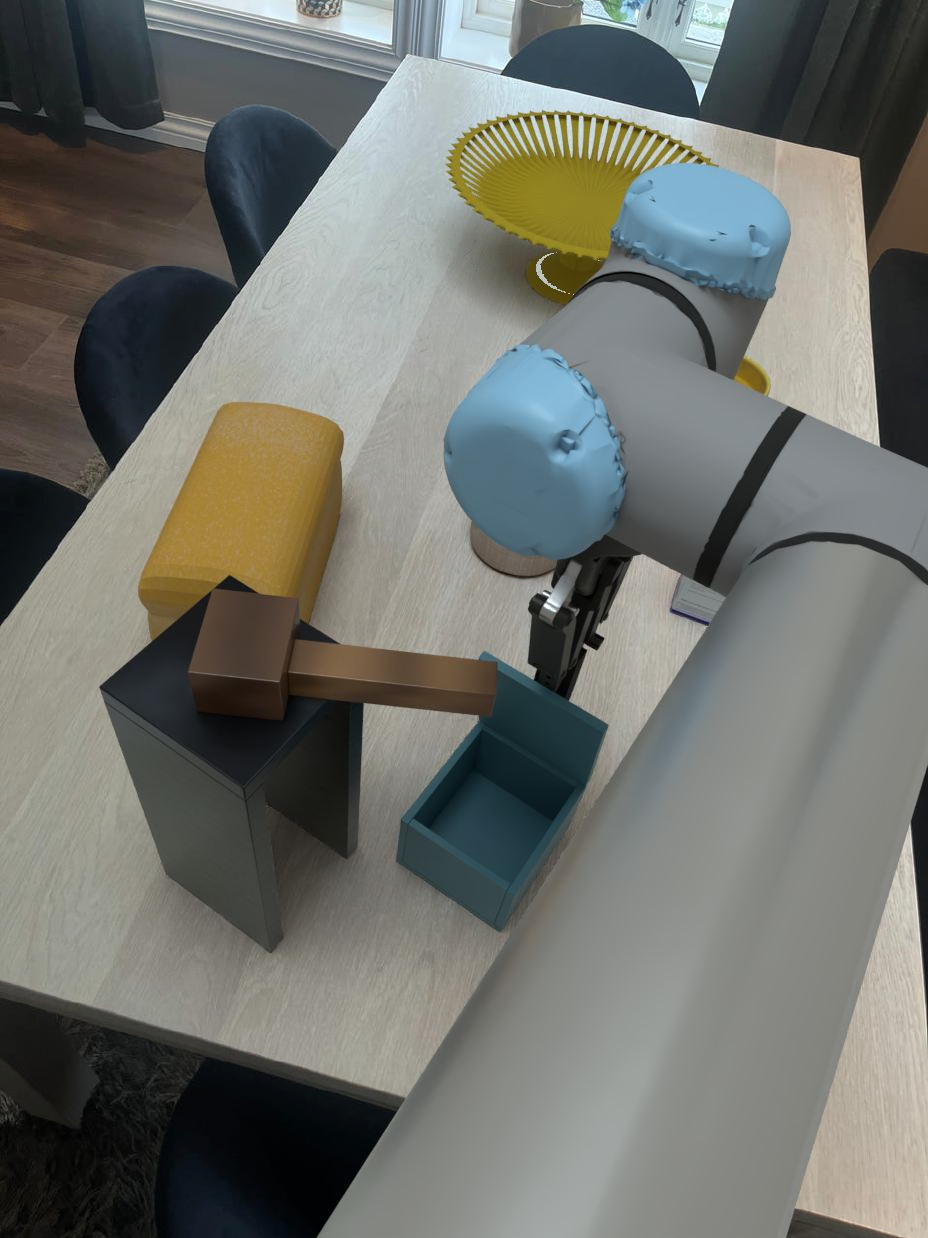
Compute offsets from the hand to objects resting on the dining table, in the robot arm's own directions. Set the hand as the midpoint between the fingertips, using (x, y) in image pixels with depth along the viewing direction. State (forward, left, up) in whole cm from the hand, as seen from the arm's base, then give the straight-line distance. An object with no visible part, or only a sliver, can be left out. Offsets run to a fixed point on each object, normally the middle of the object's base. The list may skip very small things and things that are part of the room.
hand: (549, 698), depth 70 cm
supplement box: (+32, -4, -16) cm, 36 cm away
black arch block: (-17, +14, -16) cm, 28 cm away
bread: (+5, +34, -16) cm, 38 cm away
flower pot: (+57, +7, -16) cm, 59 cm away
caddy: (-5, 0, -16) cm, 17 cm away
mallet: (-14, +8, +11) cm, 19 cm away
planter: (+27, +16, -16) cm, 35 cm away
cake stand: (+77, +37, -16) cm, 87 cm away
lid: (-1, 0, -2) cm, 3 cm away
